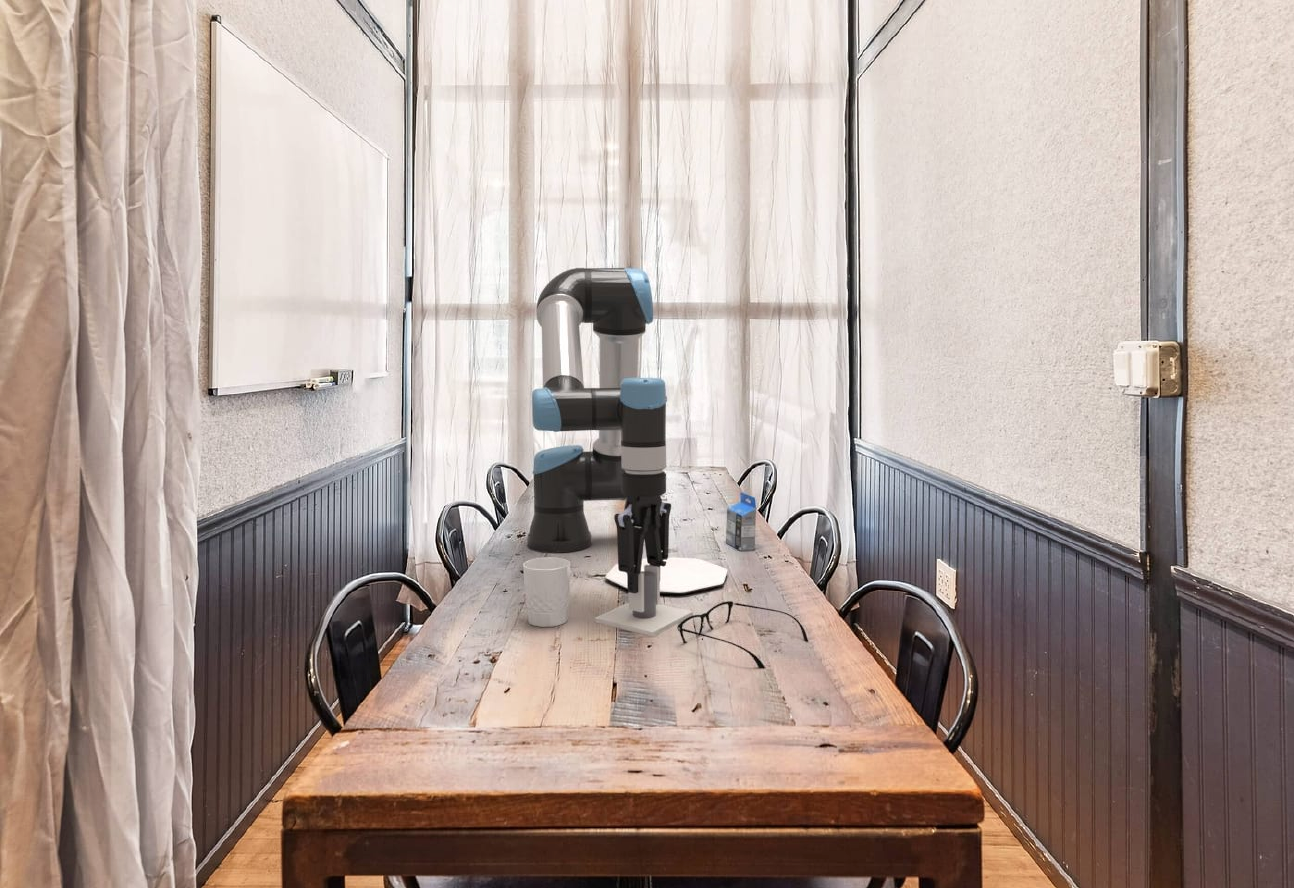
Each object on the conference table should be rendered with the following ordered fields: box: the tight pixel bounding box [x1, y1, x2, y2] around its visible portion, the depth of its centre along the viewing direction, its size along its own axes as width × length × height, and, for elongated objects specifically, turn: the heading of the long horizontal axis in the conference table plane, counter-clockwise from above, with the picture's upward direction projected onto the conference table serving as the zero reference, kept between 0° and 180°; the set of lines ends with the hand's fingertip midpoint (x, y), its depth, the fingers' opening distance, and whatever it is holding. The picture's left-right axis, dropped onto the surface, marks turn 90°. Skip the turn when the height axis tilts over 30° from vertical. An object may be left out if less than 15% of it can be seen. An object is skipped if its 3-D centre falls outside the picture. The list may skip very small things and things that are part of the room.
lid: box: [594, 571, 694, 638], centre depth 129 cm, size 12×12×8 cm
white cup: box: [522, 556, 571, 628], centre depth 129 cm, size 8×8×10 cm
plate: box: [604, 556, 729, 595], centre depth 153 cm, size 24×24×2 cm
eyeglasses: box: [676, 600, 809, 669], centre depth 119 cm, size 16×16×4 cm
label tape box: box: [725, 491, 757, 552], centre depth 178 cm, size 9×4×12 cm, turn 17°
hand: (644, 606), depth 130 cm, fingers closed on lid, 4 cm apart
